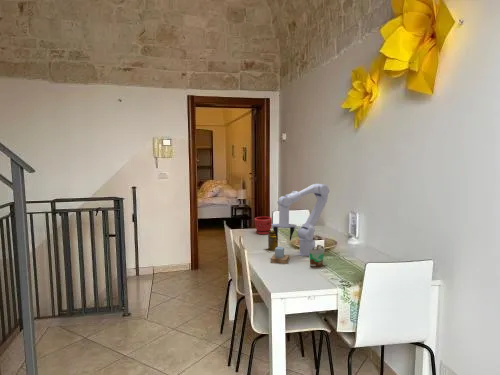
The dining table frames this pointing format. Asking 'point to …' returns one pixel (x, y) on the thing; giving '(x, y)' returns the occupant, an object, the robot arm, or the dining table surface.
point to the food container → (316, 256)
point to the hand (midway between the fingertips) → (283, 240)
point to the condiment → (272, 242)
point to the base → (280, 259)
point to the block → (279, 252)
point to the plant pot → (263, 225)
